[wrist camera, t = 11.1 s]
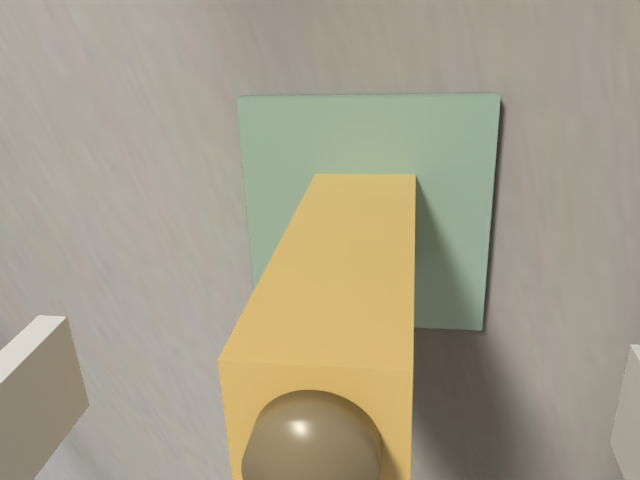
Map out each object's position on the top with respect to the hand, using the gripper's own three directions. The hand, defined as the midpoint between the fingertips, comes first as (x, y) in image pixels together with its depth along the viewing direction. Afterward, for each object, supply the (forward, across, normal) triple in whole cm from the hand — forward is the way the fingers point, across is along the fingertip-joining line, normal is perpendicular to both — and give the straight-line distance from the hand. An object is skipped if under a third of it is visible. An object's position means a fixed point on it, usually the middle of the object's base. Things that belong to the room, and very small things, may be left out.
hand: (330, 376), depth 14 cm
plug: (+11, 0, -1) cm, 11 cm away
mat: (+12, 0, -1) cm, 12 cm away
